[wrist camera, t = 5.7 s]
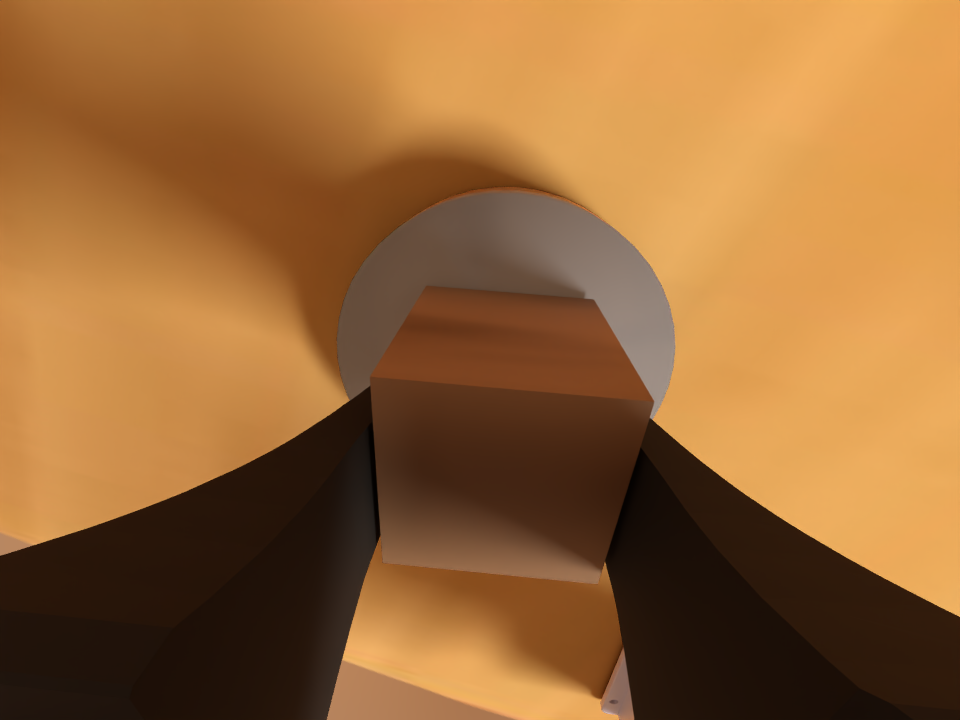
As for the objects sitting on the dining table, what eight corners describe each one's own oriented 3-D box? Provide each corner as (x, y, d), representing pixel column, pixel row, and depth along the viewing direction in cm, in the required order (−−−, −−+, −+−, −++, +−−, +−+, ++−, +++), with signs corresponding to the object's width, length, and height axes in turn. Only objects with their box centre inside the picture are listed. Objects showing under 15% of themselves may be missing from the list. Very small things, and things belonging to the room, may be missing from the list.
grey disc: (615, 467, 16) (628, 506, 14) (368, 444, 16) (351, 479, 15) (693, 200, 12) (727, 209, 10) (346, 174, 12) (317, 178, 10)
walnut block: (566, 435, 13) (597, 583, 8) (425, 422, 13) (382, 563, 8) (594, 299, 11) (654, 401, 6) (426, 285, 11) (369, 376, 6)
